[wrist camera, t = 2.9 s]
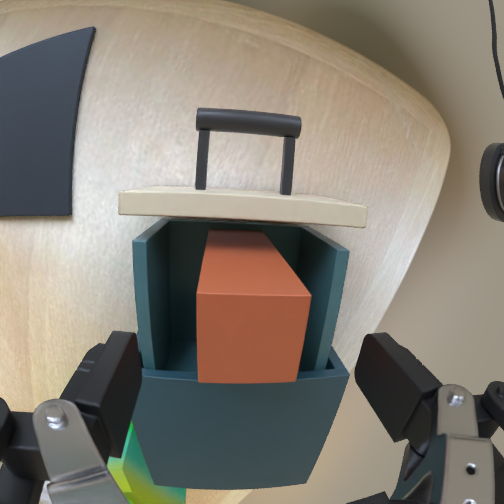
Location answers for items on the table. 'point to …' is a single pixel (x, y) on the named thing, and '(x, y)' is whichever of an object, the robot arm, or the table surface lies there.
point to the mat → (40, 123)
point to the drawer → (232, 207)
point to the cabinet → (235, 427)
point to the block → (248, 311)
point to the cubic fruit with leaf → (140, 477)
